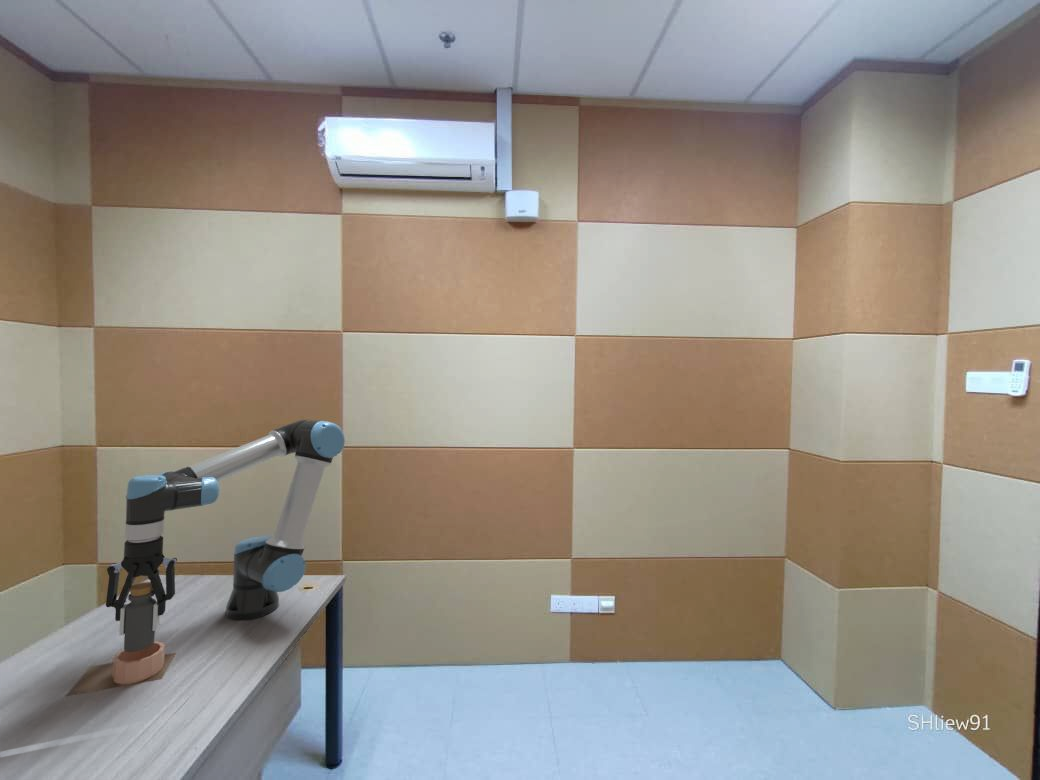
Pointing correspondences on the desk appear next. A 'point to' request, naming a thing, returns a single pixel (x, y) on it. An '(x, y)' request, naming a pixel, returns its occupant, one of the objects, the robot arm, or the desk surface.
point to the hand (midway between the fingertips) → (140, 630)
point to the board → (109, 677)
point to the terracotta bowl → (138, 664)
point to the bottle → (139, 618)
